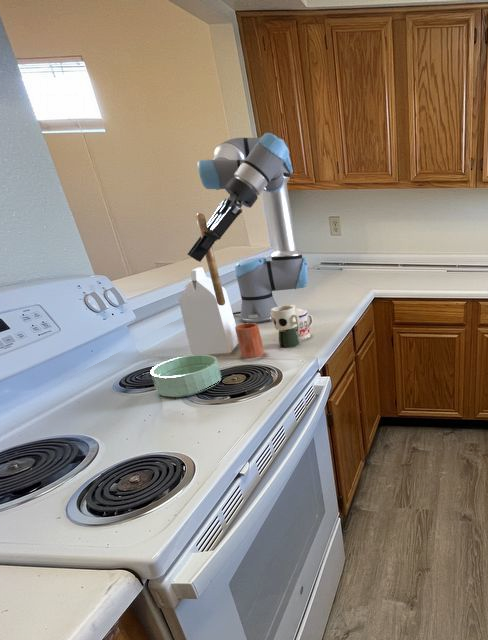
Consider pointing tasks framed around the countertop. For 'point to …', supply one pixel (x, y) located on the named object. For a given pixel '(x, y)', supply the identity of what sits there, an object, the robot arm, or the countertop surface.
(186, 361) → the bowl
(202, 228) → the stirring stick
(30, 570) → the countertop surface
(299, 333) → the white patterned mug
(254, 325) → the utensil crock
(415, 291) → the countertop surface
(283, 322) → the character mug
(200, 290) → the milk
